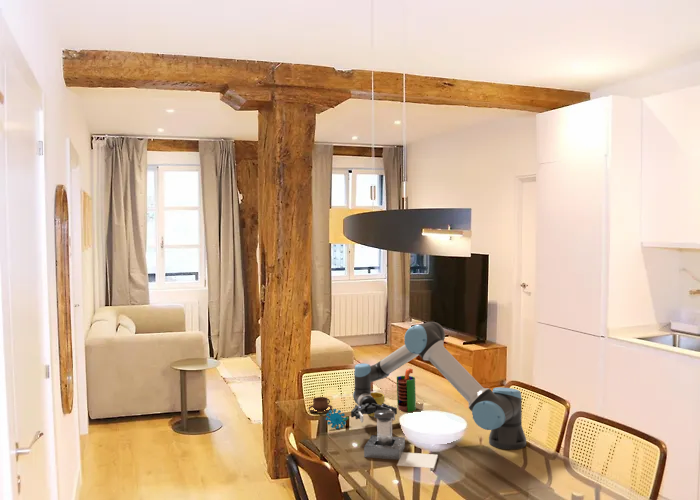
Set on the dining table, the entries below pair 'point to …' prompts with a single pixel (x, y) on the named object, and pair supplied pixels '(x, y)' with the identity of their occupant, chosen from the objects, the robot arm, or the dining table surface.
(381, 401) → the plant pot
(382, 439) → the flanged shaft
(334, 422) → the gear
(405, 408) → the motor
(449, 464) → the dining table surface
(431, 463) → the pad
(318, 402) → the cup and saucer
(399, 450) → the housing
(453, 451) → the dining table surface
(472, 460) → the dining table surface
